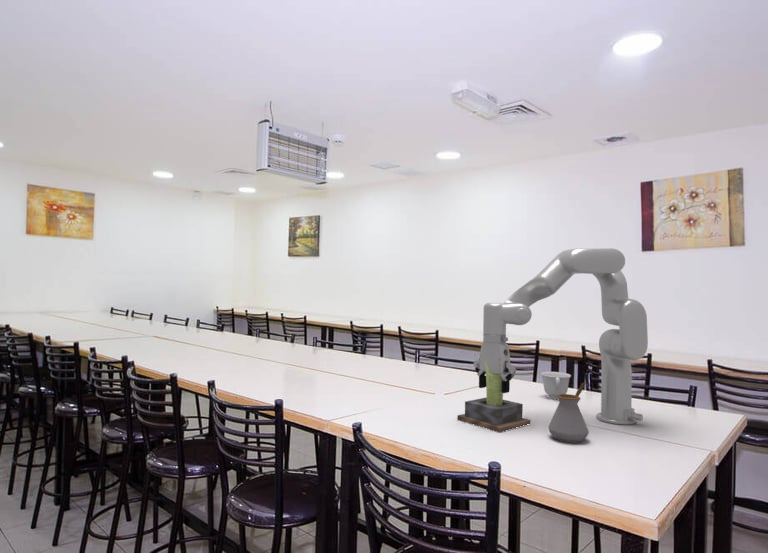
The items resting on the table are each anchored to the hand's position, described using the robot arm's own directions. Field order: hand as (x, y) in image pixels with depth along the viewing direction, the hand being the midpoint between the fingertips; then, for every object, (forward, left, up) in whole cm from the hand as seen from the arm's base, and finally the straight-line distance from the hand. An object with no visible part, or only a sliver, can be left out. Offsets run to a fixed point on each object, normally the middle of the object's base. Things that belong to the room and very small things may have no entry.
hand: (493, 390), depth 165 cm
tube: (0, 0, -9) cm, 9 cm away
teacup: (+8, -50, -11) cm, 52 cm away
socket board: (0, 0, -11) cm, 11 cm away
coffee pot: (-24, -9, -11) cm, 28 cm away
